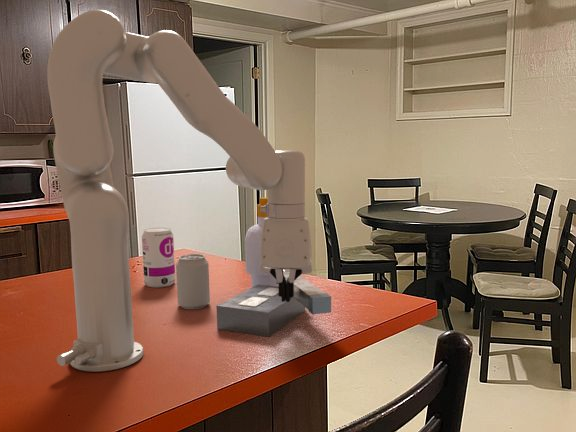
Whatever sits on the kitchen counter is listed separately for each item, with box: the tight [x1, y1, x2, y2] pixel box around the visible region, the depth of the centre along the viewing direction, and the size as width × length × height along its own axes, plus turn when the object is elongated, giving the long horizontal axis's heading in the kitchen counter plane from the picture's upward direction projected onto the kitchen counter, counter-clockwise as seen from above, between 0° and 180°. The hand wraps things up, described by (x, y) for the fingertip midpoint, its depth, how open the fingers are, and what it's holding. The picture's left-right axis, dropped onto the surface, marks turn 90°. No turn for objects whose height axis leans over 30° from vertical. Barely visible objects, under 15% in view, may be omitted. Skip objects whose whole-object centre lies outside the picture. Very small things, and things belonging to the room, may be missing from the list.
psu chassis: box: [215, 284, 306, 338], centre depth 123 cm, size 22×12×5 cm, turn 155°
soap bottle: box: [244, 197, 279, 288], centre depth 141 cm, size 10×10×24 cm
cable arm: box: [276, 269, 332, 315], centre depth 120 cm, size 26×4×3 cm, turn 18°
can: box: [175, 253, 211, 310], centre depth 132 cm, size 8×8×12 cm
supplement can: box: [141, 227, 176, 289], centre depth 152 cm, size 8×8×15 cm
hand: (286, 299), depth 116 cm, fingers closed
